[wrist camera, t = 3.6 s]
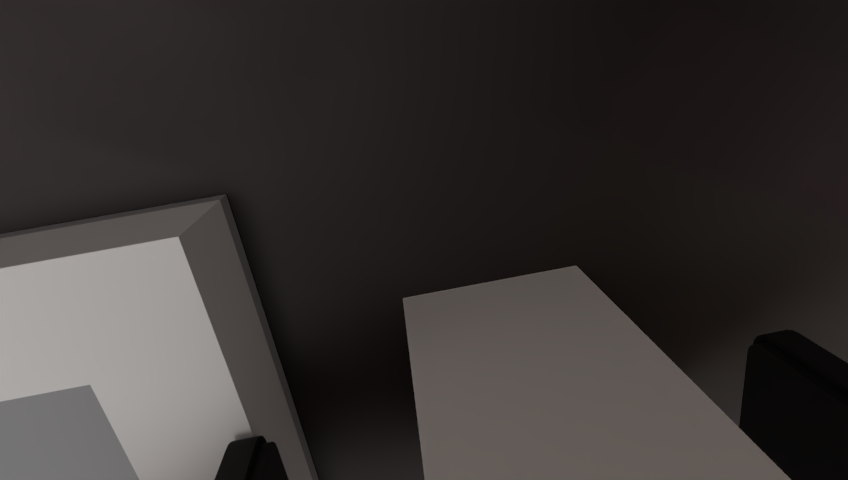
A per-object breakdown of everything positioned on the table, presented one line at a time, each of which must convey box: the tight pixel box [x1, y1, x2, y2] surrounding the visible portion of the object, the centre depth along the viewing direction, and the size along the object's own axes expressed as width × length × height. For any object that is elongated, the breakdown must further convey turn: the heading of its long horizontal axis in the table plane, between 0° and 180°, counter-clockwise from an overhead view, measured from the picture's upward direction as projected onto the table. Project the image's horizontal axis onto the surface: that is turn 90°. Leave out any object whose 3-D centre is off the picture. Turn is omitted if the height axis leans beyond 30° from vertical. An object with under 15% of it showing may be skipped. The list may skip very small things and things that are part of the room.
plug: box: [403, 266, 791, 480], centre depth 8 cm, size 4×4×7 cm
